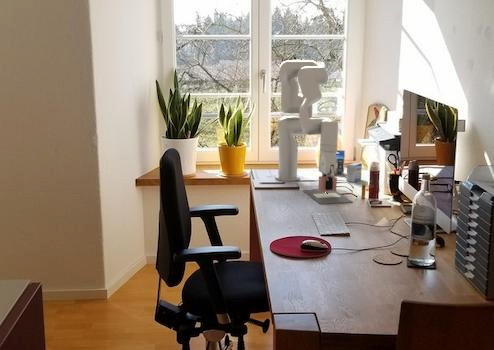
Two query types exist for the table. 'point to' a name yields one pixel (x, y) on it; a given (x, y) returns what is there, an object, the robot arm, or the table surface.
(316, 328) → the table surface
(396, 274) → the table surface
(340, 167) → the label tape box
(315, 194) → the mat
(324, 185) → the card box
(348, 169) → the medicine box
